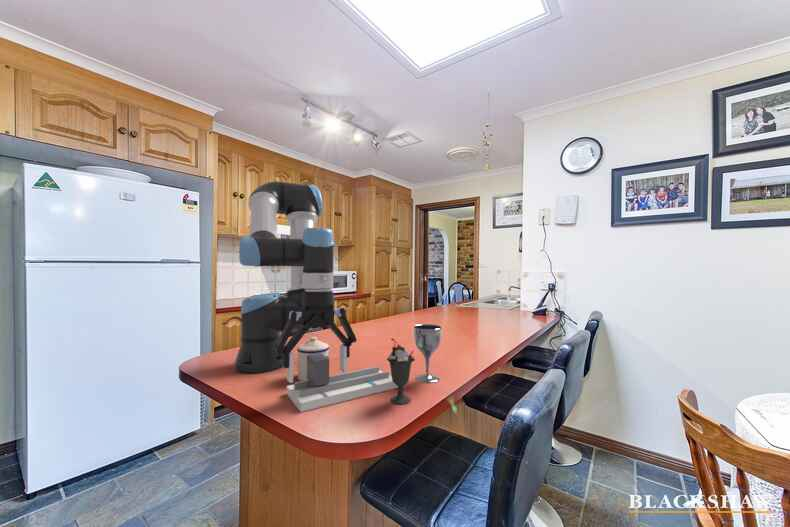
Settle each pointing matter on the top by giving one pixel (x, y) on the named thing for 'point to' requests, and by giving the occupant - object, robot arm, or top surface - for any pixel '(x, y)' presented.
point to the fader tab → (317, 370)
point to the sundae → (400, 371)
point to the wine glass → (427, 347)
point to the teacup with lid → (308, 349)
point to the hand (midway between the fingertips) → (317, 375)
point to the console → (340, 388)
